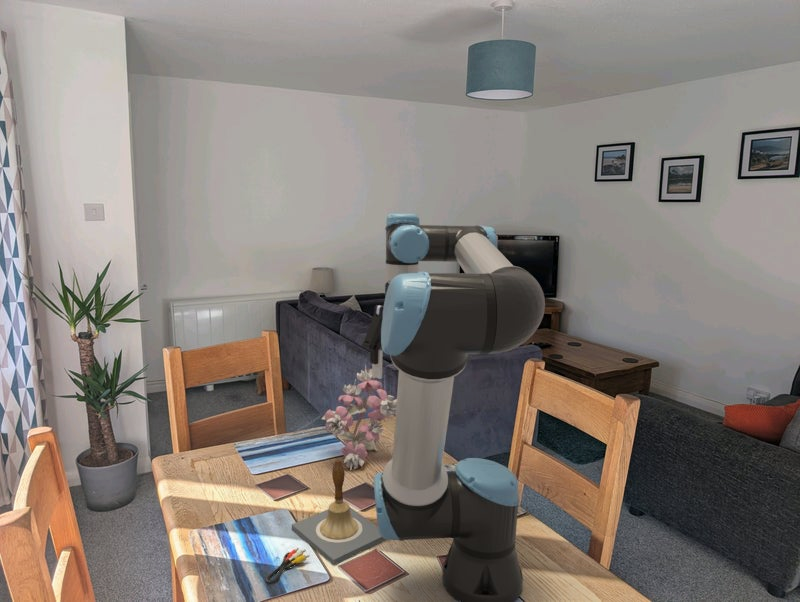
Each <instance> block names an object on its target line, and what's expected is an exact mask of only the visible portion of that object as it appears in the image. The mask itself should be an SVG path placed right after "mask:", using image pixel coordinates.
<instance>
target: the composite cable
mask: <svg viewBox="0 0 800 602" xmlns="http://www.w3.org/2000/svg"><path fill="white" fill-rule="evenodd" d="M299 549H300V547H297V548H294V549H292V550H291V551H290V552H286V553H285V555H284V556H283V558H282V561H281V563H280V564H279V566H278V567H277V568H275V569H274V570H272V571H271V572H270V573H269V574H268V575H267V577H266V578H265V579H266V581H265V582H266V583H267V584H268V583H269V584H268V585H274V584H276V583H277V582H278V581H279V580H280V578H281V576H282V573H283V572H284V571H285V570H284V569H287V570H289V568H290V567H292V568H294V567H295V566H297V565H298V563H299V564H300V563H303V562H305V561H306V560H307V558H310V554H307V555H306V554H304V553H305V552H307V550H306V549H303V550H302V549H300V550H299ZM296 564H297V565H296ZM294 565H295V566H294ZM290 569H291V568H290ZM283 570H284V571H283ZM278 571H279V572H278ZM277 572H278V573H277ZM276 573H277V574H276ZM274 574H275V575H274ZM273 575H274V576H275V577H274V576H273ZM272 576H273V577H274V578H273V579H271V578H272Z"/></svg>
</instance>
